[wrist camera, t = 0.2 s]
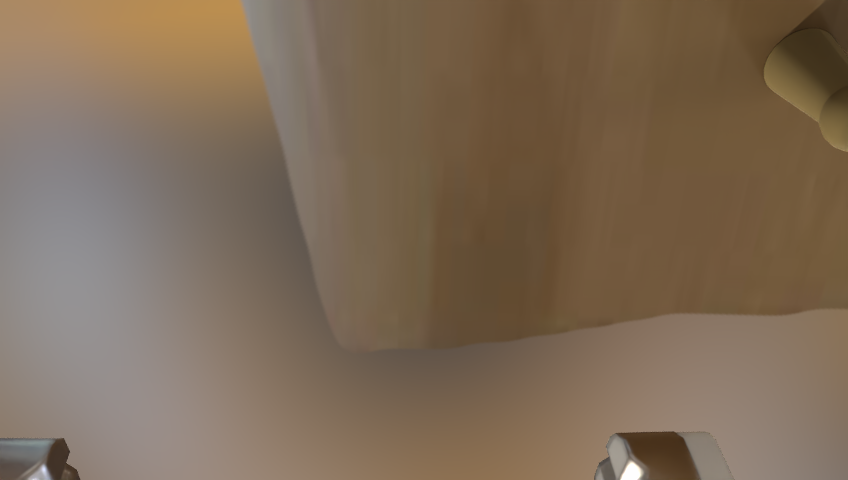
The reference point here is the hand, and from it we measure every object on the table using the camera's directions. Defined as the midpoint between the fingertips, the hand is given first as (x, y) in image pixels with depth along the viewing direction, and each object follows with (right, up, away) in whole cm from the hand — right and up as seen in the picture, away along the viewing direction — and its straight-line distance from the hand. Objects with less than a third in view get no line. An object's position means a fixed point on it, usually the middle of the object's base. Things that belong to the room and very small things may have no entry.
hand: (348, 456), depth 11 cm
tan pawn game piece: (+33, +18, +50) cm, 63 cm away
